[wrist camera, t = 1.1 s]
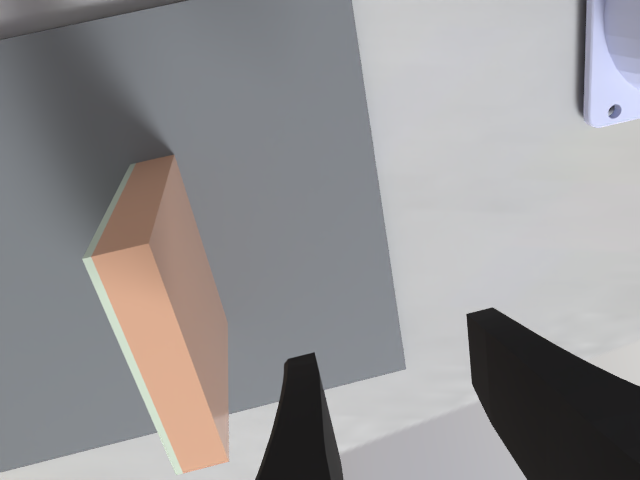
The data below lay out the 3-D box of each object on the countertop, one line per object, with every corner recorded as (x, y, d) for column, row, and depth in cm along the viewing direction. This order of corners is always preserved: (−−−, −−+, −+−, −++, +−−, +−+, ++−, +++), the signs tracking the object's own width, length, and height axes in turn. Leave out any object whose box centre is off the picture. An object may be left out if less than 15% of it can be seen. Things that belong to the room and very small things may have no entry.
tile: (174, 154, 19) (149, 243, 12) (227, 322, 22) (229, 461, 16) (130, 164, 19) (82, 258, 12) (190, 331, 22) (176, 475, 15)
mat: (344, -33, 17) (346, -34, 17) (403, 363, 25) (405, 369, 24) (-246, 91, 16) (-257, 93, 16) (-6, 467, 24) (-9, 474, 23)
